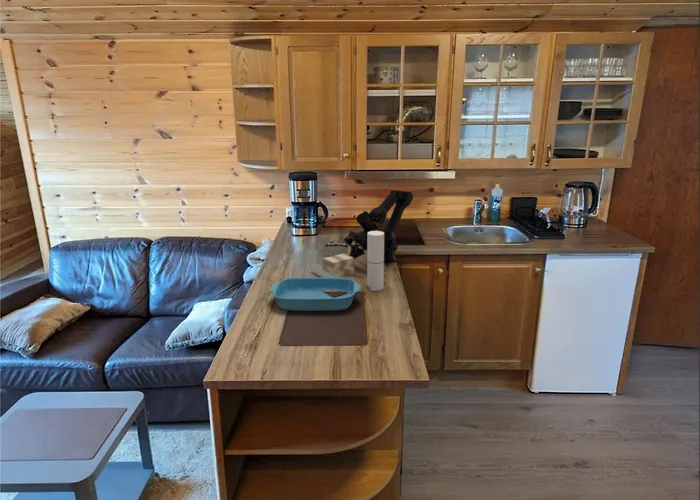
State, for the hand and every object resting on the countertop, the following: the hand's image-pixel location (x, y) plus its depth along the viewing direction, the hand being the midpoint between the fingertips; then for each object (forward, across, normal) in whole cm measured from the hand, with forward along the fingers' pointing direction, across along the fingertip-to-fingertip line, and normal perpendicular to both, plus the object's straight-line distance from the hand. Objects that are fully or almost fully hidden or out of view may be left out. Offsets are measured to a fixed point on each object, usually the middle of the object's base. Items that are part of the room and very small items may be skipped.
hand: (349, 260), depth 220 cm
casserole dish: (+26, +17, -16) cm, 35 cm away
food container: (0, -20, +10) cm, 22 cm away
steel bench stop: (+13, 0, -6) cm, 15 cm away
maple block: (+8, 0, -1) cm, 8 cm away
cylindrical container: (+5, +20, +5) cm, 21 cm away
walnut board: (+5, 0, +4) cm, 7 cm away
